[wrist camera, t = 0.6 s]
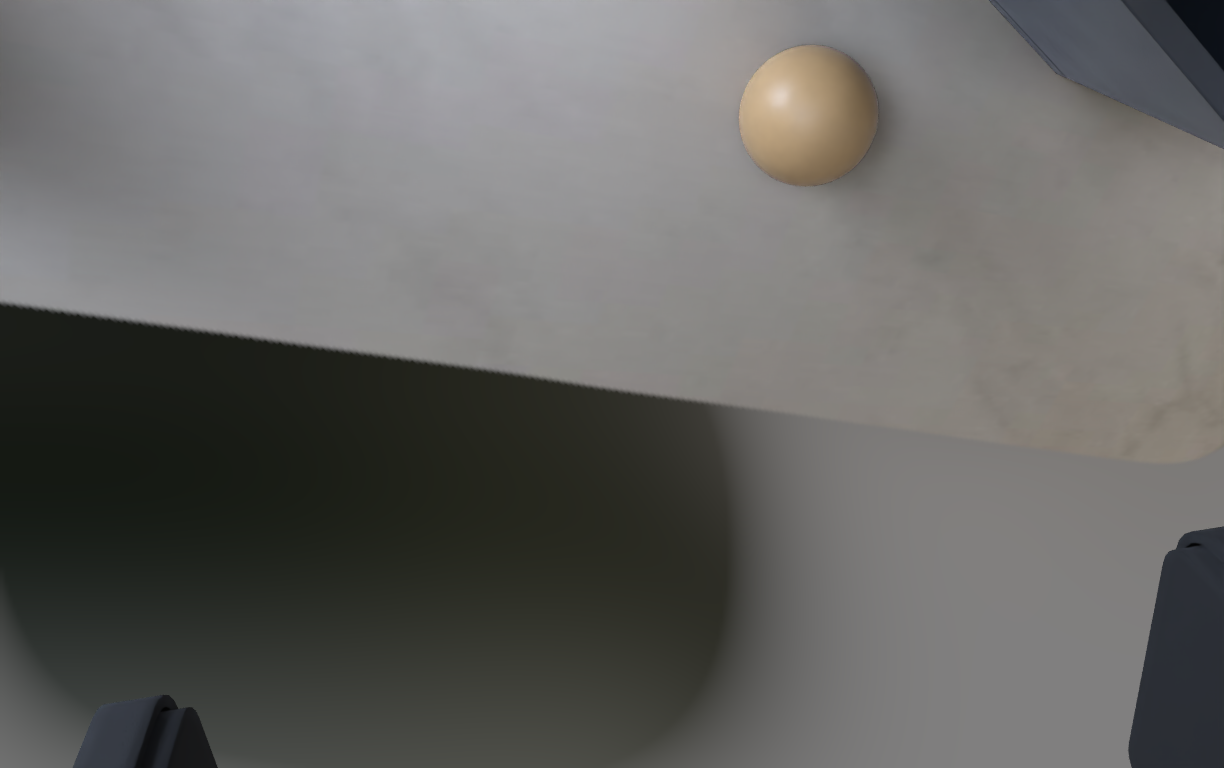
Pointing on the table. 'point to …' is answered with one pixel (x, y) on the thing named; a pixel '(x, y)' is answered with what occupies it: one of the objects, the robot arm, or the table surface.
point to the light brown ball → (808, 115)
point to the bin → (1136, 53)
